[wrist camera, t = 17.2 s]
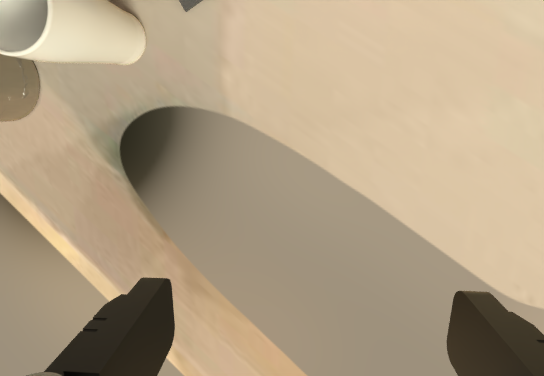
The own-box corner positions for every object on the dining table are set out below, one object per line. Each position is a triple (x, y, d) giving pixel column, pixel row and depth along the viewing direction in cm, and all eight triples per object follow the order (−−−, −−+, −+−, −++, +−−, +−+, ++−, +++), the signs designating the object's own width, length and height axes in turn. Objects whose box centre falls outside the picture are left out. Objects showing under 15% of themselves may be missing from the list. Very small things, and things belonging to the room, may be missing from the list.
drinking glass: (90, 63, 38) (-47, 42, 23) (98, -4, 36) (-45, -72, 22) (149, 80, 38) (47, 69, 23) (160, 14, 36) (57, -43, 21)
